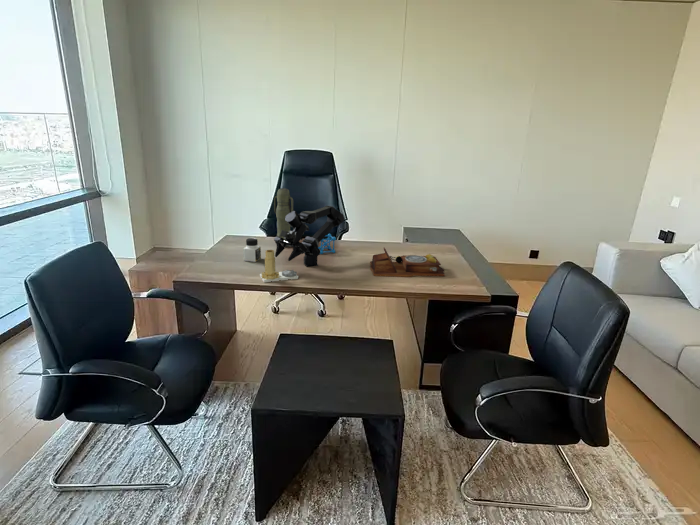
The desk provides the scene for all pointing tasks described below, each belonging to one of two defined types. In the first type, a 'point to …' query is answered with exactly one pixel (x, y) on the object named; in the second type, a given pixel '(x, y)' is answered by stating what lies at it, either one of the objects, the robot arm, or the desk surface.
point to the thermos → (283, 210)
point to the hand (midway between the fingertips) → (282, 258)
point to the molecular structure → (327, 245)
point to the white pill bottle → (252, 250)
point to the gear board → (283, 276)
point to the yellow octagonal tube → (270, 266)
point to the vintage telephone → (405, 265)
